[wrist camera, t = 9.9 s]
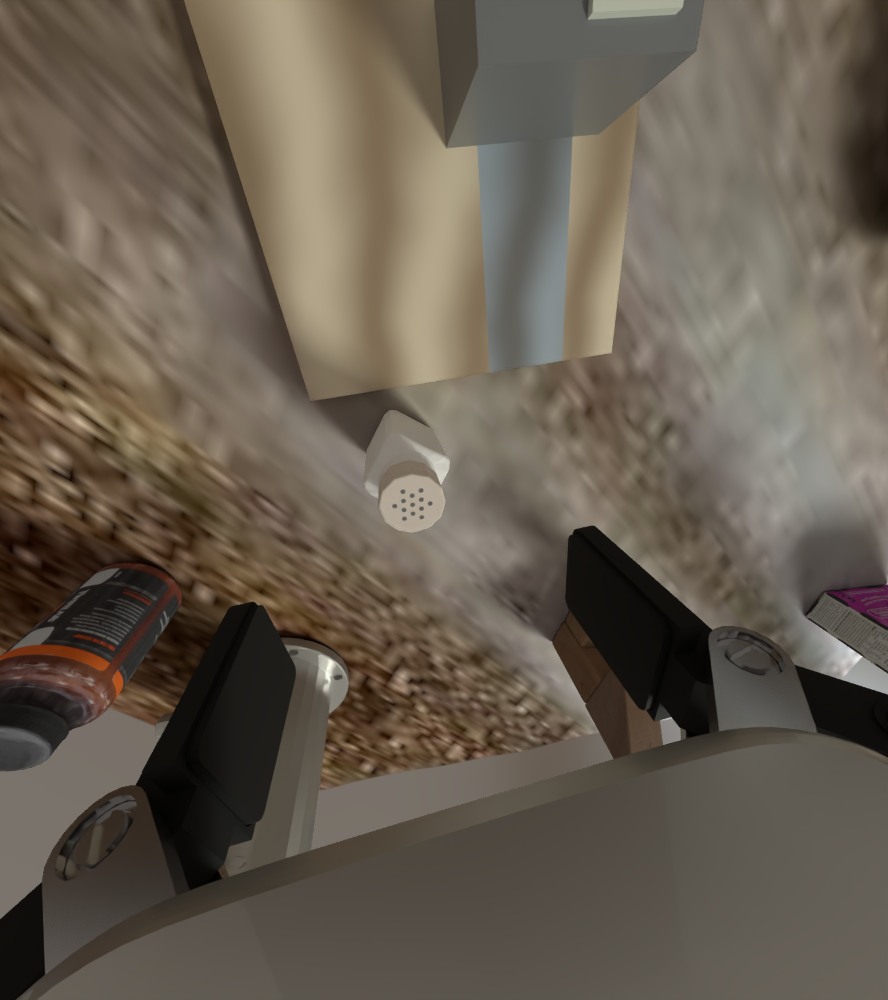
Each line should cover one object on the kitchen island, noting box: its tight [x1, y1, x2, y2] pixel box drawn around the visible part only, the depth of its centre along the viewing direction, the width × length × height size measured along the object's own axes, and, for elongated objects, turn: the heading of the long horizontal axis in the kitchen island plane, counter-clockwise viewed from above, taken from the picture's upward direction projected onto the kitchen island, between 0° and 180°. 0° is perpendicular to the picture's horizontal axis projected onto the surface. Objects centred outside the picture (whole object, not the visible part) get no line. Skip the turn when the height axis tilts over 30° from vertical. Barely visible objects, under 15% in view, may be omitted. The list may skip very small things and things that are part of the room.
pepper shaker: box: [364, 410, 450, 532], centre depth 20 cm, size 4×4×10 cm
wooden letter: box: [552, 611, 663, 759], centre depth 28 cm, size 4×11×18 cm, turn 164°
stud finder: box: [434, 0, 704, 148], centre depth 13 cm, size 8×4×6 cm, turn 97°
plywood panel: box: [184, 0, 640, 401], centre depth 17 cm, size 20×20×1 cm
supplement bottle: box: [0, 562, 182, 771], centre depth 21 cm, size 6×6×11 cm
